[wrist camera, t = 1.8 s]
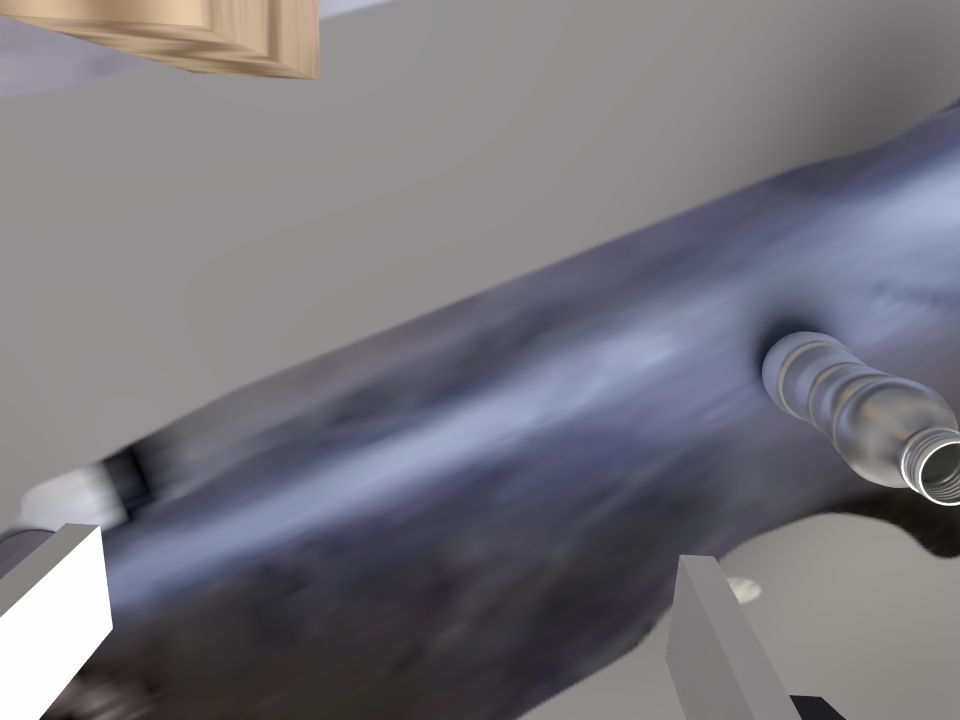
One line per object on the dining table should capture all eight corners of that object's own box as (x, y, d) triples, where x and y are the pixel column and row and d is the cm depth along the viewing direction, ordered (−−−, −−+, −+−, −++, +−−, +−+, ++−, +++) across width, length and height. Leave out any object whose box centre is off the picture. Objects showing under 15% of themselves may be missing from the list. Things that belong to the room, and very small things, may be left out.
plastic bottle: (777, 420, 56) (921, 553, 37) (738, 351, 55) (867, 453, 35) (851, 379, 55) (1040, 494, 36) (813, 308, 54) (989, 388, 34)
